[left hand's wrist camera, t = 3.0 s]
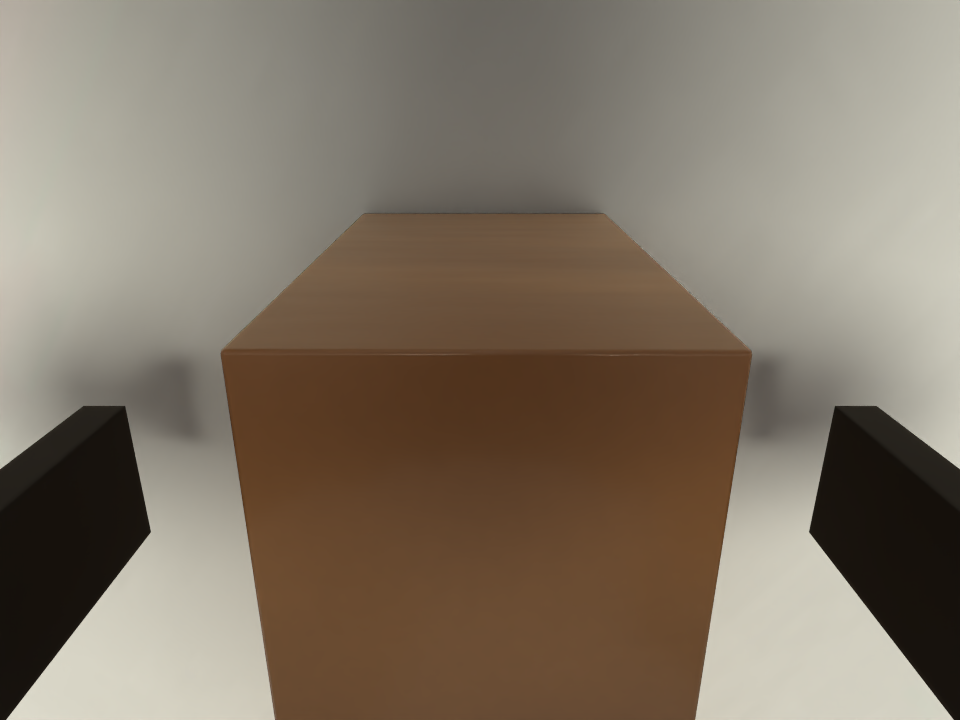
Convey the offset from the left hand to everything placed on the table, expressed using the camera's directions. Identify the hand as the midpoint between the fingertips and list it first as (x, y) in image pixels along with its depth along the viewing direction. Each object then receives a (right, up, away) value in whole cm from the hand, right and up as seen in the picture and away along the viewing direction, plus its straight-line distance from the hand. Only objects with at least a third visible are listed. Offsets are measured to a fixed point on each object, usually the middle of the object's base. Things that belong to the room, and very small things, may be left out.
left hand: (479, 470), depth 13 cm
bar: (0, -8, +7) cm, 10 cm away
